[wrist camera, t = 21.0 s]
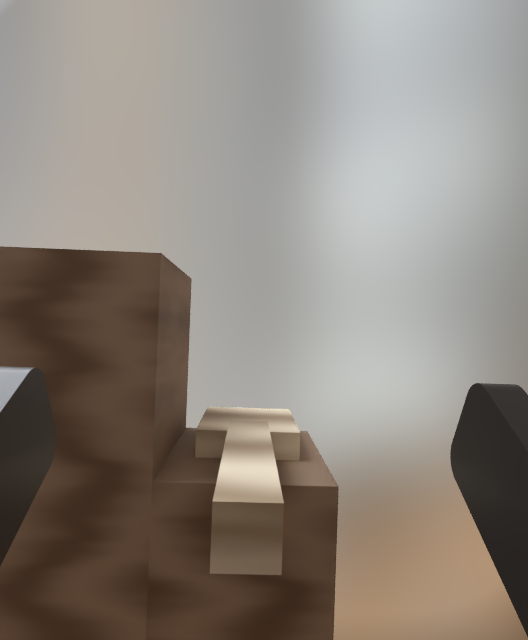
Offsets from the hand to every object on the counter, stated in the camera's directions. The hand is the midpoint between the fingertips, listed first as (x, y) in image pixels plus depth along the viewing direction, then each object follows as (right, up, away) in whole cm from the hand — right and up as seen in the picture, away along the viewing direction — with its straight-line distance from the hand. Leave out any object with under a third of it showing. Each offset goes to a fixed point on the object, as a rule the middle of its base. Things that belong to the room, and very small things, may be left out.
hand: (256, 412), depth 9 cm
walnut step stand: (-6, -27, +20) cm, 34 cm away
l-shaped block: (-1, -6, +16) cm, 17 cm away
